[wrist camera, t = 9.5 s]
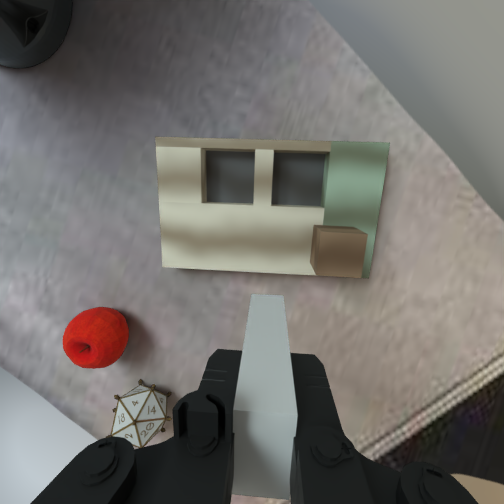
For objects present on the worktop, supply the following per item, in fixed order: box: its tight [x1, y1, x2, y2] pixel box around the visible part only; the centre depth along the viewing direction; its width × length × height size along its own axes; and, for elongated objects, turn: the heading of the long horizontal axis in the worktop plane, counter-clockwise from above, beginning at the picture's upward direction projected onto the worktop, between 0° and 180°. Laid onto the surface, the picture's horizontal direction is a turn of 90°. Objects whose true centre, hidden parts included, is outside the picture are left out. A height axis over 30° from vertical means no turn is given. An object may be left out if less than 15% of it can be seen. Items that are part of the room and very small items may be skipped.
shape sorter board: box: [155, 137, 390, 278], centre depth 31 cm, size 15×25×3 cm, turn 88°
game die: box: [106, 379, 171, 448], centre depth 38 cm, size 9×8×10 cm
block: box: [310, 225, 368, 278], centre depth 28 cm, size 4×4×4 cm
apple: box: [63, 307, 129, 369], centre depth 35 cm, size 8×8×7 cm
